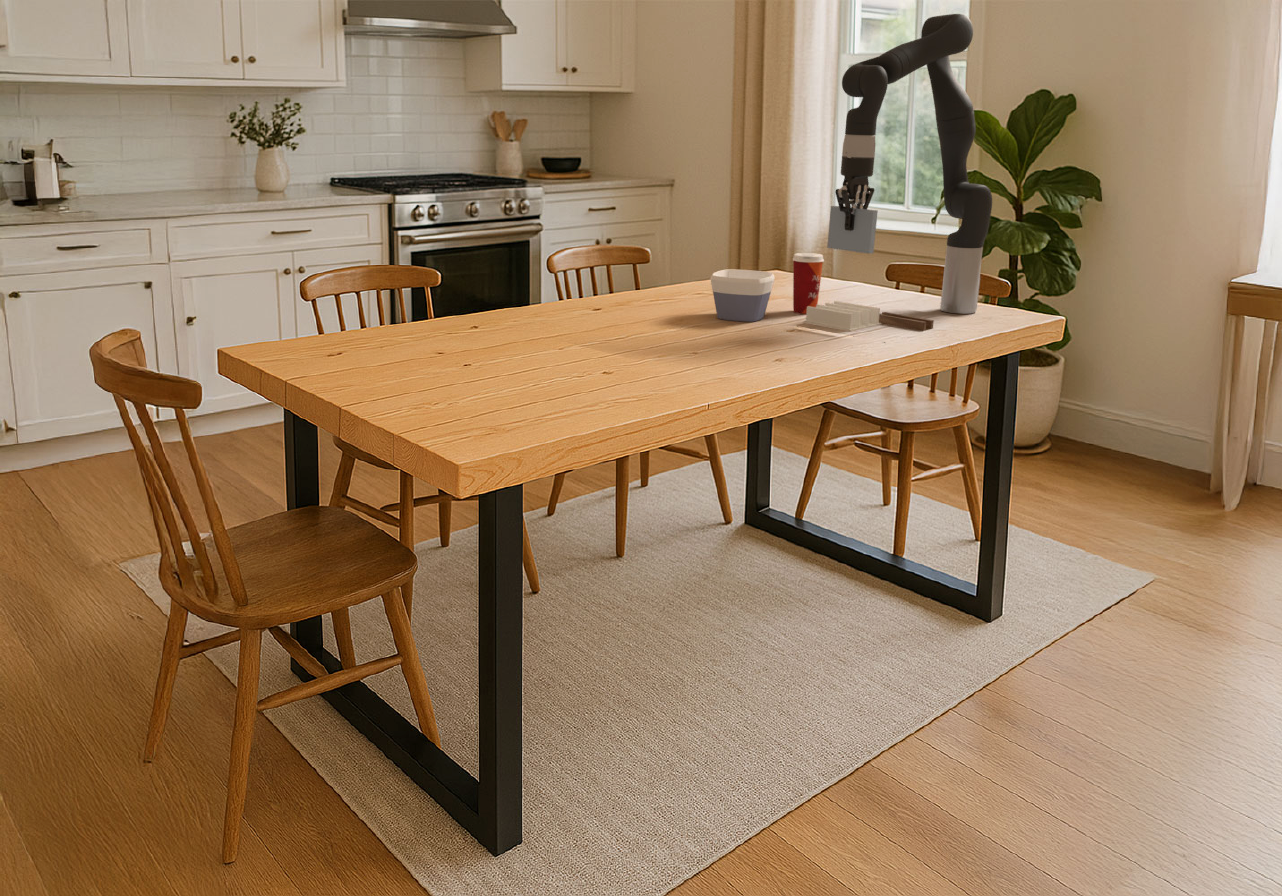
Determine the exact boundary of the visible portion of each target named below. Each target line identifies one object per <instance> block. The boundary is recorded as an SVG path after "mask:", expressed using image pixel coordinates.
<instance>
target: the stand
mask: <svg viewBox="0 0 1282 896" xmlns="http://www.w3.org/2000/svg"><path fill="white" fill-rule="evenodd" d="M934 321H935V320H934V319H930V318H929V319H928V318H921V317H917V316H910V315H906V314H905V315H904V314H897V313H892V312H888V311H882V312H881V313H879V323H881V325H886V326H892V327H899V328H903V329H909V330H913V331H921V332H924V331H929V330H933V329H934V323H935V322H934Z"/></svg>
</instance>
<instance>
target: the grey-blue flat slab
mask: <svg viewBox="0 0 1282 896" xmlns="http://www.w3.org/2000/svg"><path fill="white" fill-rule="evenodd" d="M829 211H830V212H829V223H828V225H829V226H828V232H827V233H828V236H827V246H826V247H827V248H828V249H831V250H832V249H833V250H841V251H845V252H846V251H847V252H854V253H862V254H868V255H871V254H874V251H875V241H876V231H877V230H876V229H877V221H878V210H877V209H868V208H867V209H860V208H856V210H855V214H854V215H855V220H854V229H853V230H852V231H849V230H845V214H844V212H841V211H840V209H839V205H831V206H830V210H829Z"/></svg>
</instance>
